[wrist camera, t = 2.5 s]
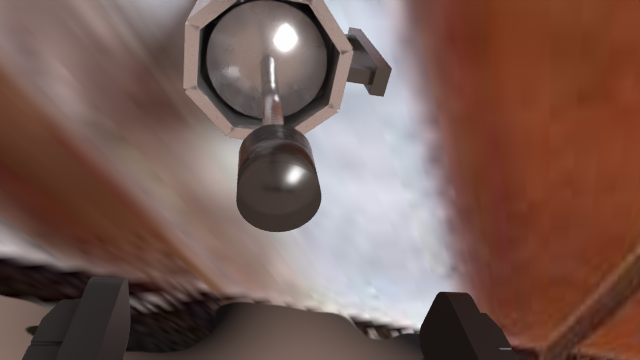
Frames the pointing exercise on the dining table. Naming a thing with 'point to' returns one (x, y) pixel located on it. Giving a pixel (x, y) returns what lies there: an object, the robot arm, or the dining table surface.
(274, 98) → the plunger
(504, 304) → the dining table surface
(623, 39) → the dining table surface
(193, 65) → the carafe
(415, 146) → the dining table surface
